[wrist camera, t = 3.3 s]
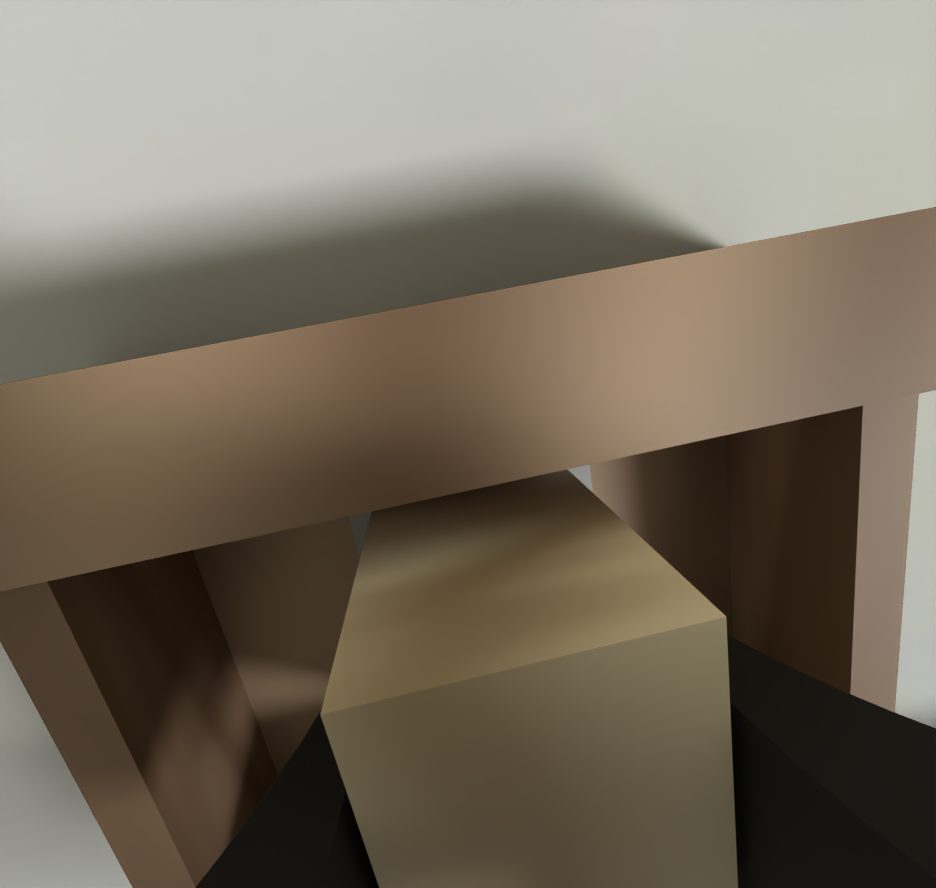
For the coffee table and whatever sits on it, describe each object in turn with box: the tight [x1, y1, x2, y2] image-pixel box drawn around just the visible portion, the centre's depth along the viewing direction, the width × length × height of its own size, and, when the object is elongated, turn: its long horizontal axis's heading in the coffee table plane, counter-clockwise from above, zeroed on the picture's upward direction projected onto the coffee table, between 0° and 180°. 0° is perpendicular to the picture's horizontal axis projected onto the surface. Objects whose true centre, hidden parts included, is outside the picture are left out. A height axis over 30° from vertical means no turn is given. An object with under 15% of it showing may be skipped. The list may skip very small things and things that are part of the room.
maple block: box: [320, 469, 738, 888], centre depth 8 cm, size 4×6×5 cm, turn 11°
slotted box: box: [0, 207, 936, 888], centre depth 10 cm, size 15×13×5 cm
